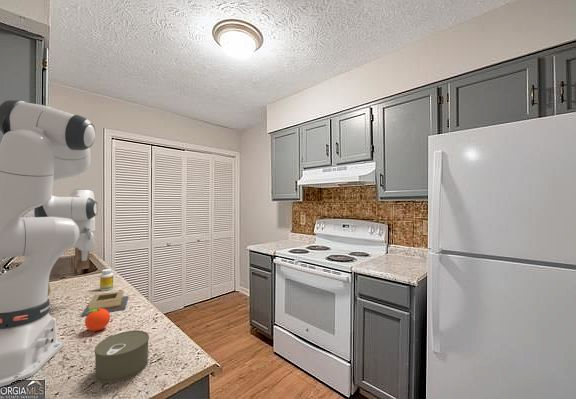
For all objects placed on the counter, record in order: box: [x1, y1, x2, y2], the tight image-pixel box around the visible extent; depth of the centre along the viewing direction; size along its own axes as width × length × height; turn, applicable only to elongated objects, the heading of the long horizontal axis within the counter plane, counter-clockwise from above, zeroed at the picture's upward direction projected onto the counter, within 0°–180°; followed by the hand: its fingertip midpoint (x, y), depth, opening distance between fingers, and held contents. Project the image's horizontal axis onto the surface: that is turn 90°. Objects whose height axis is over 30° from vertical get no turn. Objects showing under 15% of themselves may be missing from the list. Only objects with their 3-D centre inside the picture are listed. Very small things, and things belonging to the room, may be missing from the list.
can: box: [93, 330, 150, 384], centre depth 67 cm, size 12×12×7 cm
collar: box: [81, 290, 130, 317], centre depth 107 cm, size 14×14×4 cm
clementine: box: [84, 308, 111, 332], centre depth 87 cm, size 8×7×7 cm
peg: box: [74, 247, 90, 271], centre depth 109 cm, size 4×4×9 cm
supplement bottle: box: [99, 268, 114, 292], centre depth 128 cm, size 5×5×10 cm
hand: (82, 259), depth 109 cm, fingers closed on peg, 4 cm apart
